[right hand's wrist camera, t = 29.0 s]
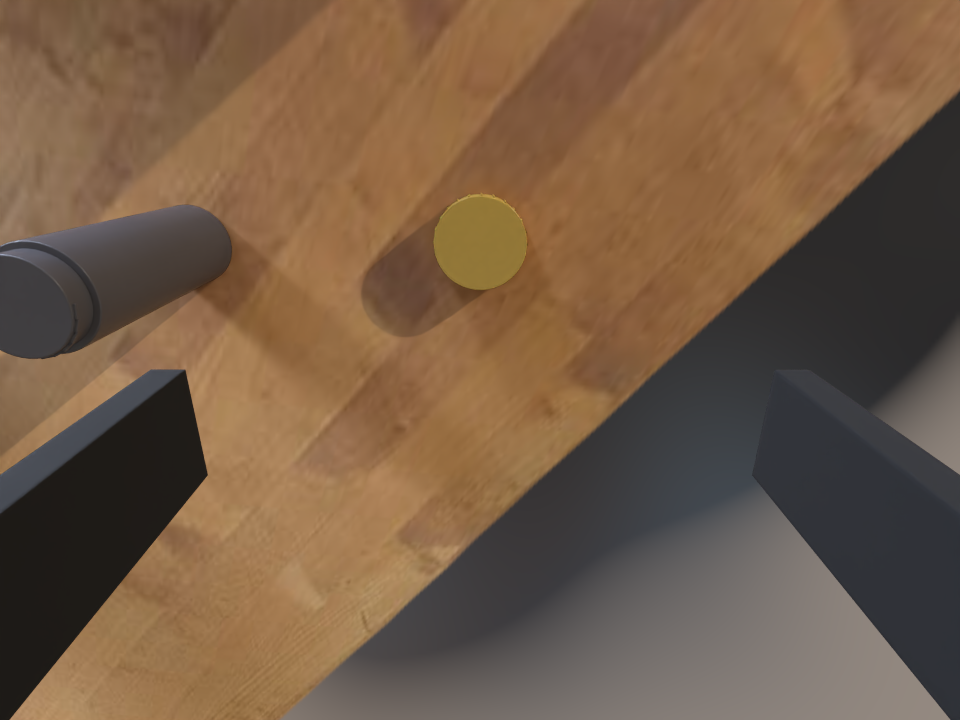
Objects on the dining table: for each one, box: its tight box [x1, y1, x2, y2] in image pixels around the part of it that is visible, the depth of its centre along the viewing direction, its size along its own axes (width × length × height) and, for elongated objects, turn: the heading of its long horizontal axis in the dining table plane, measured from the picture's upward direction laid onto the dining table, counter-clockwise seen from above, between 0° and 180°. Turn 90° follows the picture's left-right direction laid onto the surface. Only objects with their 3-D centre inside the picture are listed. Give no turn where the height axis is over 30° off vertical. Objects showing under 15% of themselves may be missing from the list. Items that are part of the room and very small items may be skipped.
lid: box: [433, 193, 528, 290], centre depth 36 cm, size 6×6×2 cm
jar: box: [0, 205, 232, 359], centre depth 30 cm, size 5×5×15 cm
